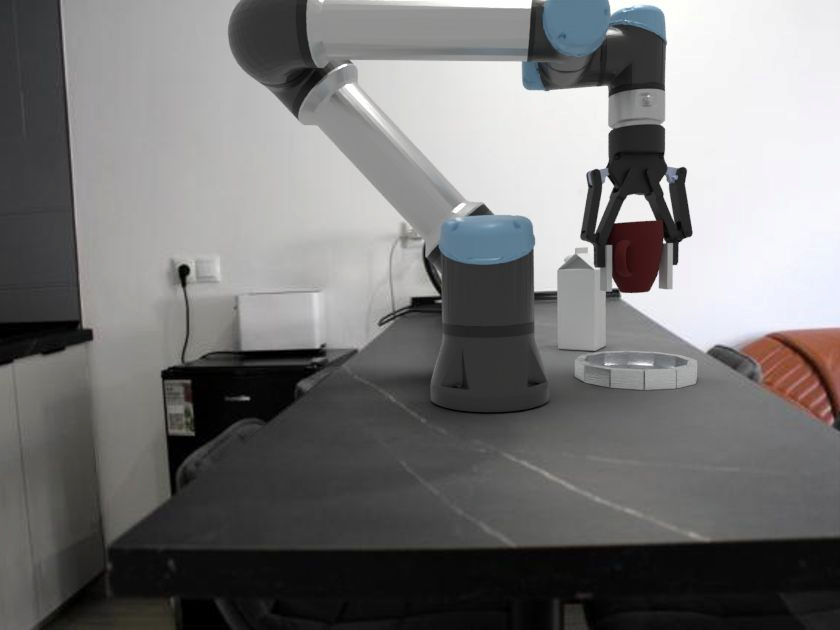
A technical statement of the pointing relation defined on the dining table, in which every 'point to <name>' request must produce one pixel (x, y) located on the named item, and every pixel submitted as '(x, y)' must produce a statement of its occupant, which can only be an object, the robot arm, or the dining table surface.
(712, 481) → the dining table surface
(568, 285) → the milk carton
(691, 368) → the round white tray
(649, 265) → the mug
